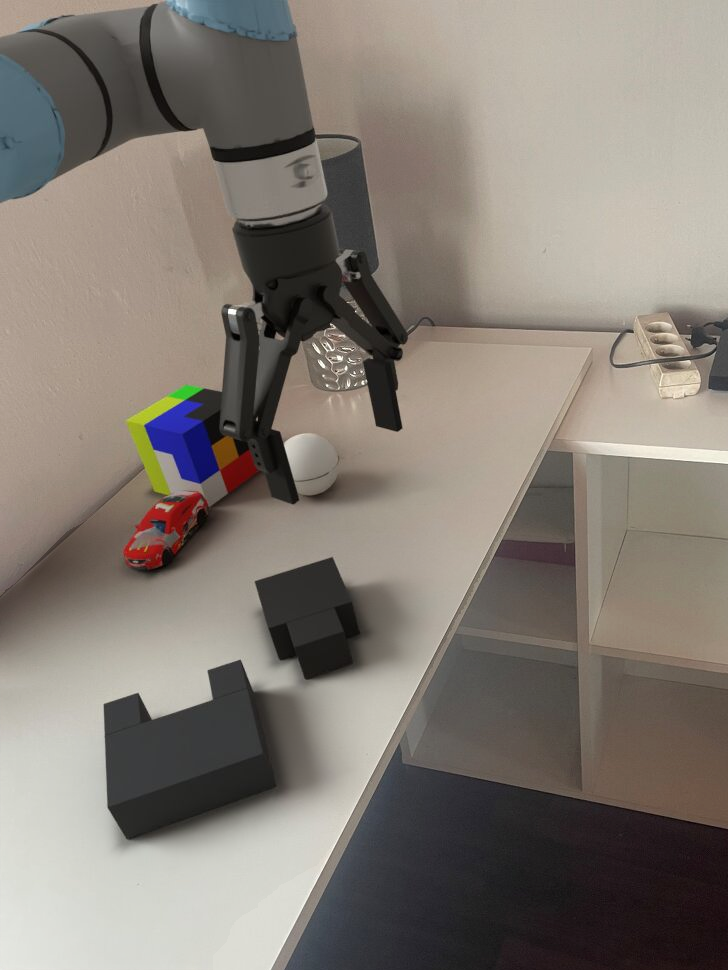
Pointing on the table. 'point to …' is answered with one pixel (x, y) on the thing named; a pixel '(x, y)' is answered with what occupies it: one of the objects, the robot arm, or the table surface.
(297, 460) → the white sphere
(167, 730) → the notch pad
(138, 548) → the race car
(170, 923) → the table surface
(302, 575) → the tongue pad
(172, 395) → the puzzle toy
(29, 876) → the table surface
